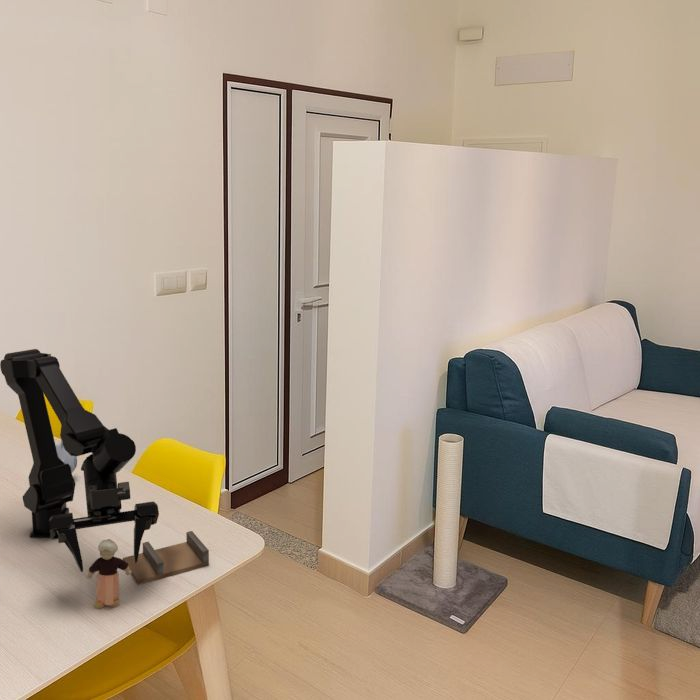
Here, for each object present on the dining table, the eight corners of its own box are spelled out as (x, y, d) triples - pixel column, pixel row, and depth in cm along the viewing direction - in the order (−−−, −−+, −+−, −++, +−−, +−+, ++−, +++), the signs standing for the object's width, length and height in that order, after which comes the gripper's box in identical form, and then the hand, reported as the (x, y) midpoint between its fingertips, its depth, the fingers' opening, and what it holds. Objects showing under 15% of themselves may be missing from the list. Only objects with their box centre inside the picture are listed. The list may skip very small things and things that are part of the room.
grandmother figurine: (88, 613, 128) (85, 548, 125) (86, 601, 132) (83, 538, 129) (133, 605, 131) (131, 541, 128) (131, 593, 135) (128, 531, 132)
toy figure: (77, 488, 176) (75, 442, 173) (50, 491, 174) (47, 444, 171) (78, 471, 186) (76, 426, 183) (52, 473, 184) (49, 428, 181)
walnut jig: (138, 584, 138) (137, 568, 137) (123, 561, 145) (122, 546, 144) (208, 565, 145) (208, 550, 144) (191, 544, 153) (191, 529, 152)
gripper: (46, 474, 126) (51, 562, 119) (155, 461, 134) (167, 544, 127) (47, 496, 135) (53, 580, 128) (150, 483, 143) (161, 562, 135)
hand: (109, 566), depth 129 cm, fingers open, 9 cm apart
